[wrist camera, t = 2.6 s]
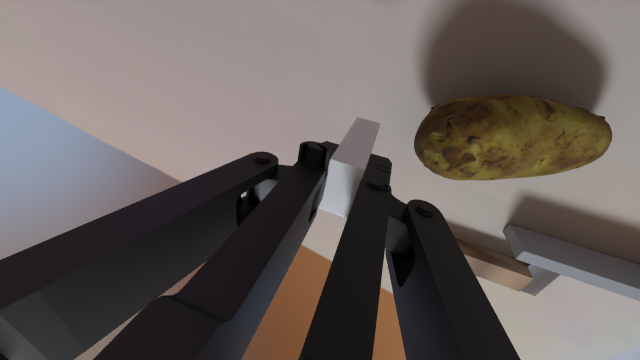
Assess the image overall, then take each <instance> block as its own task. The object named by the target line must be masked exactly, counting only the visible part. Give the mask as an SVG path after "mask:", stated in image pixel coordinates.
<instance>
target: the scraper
mask: <svg viewBox="0 0 640 360" xmlns="http://www.w3.org/2000/svg"><path fill="white" fill-rule="evenodd" d="M456 241H457V243H458V245H459V246H460V248H461V250H462V252H463V254H464V256H465V258H466V259H467V261H468V263H469V265H470V267H471V269H472V271H473V272H474V274H475V276H478V277H481V278H484V279H487V280H489V281H492V282H495V283H498V284H500V285H503V286H506V287H509V288H512V289H514V290H517V291H523V292H526V293H529V294H531V295H534V296H535V295H537V294H538V293H539V292H540V291H541V290H542V289H544V288H545V287H546V286H547V285H548V284H550V283H551V282H552V281H553V280H554V279H556V278H557V277H558V276H559V275H560V274H558V273H556V272H553V271H550V270H547V269H544V268H541V267H538V266H535V265H532V264H529V263H526V262H522V261H519V260H516V259H514V258H511V257H508V256H505V255H502V254H499V253H496V252H493V251H490V250H487V249H484V248H481V247H478V246H475V245H472V244H469V243H466V242H463V241H461V240H458V239H456Z"/></svg>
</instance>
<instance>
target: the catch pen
mask: <svg viewBox="0 0 640 360" xmlns="http://www.w3.org/2000/svg"><path fill="white" fill-rule="evenodd" d="M503 233H504V235H505V237H506V239H507V242H508V244H509V246H510V248H511V250H512V252H513V255H514V257H515V259H517V260H520V261H523V262H526V263H529V264H532V265H535V266H538V267H541V268H544V269H547V270H550V271H553V272H556V273H558V274H561V275H564V276H567V277H570V278H573V279H576V280H579V281H582V282H585V283H588V284H591V285H594V286H597V287H600V288H603V289H606V290H609V291H612V292H615V293H618V294H621V295H624V296H627V297H630V298H633V299H636V300H638V301H640V265H638V264H635V263H632V262H629V261H626V260H623V259H619V258H616V257H613V256H610V255H607V254H604V253H600V252H597V251H594V250H591V249H588V248H585V247H581V246H578V245H575V244H572V243H569V242H566V241H562V240H559V239H556V238H553V237H550V236H547V235H543V234H540V233H537V232H534V231H531V230H528V229H524V228H521V227H518V226H515V225H512V224H509V225H508V226H507V227H506V228H505V230H504V231H503Z"/></svg>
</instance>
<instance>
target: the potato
mask: <svg viewBox="0 0 640 360" xmlns="http://www.w3.org/2000/svg"><path fill="white" fill-rule="evenodd" d="M611 141H612V131H611V128H610V126H609V124H608V123H607V122H606V121H605V117H603V116H598V115H595V114H593V113H590V112H589V111H587V110H585V109H582V108H578V107H570V106H567V105H565V104H561V103H559V102H555V101H553V100H546V99H541V98H535V97H532V96H522V95H514V94H495V95H489V96H475V97H463V98H456V99H452V100H449V101H445V102H443V103H441V104H439V105H437V106H435V107H432V108H431V111H430V112H429V114H428V115H427V116H426V117H425V119H424V120H423V121H422V123H421V124H420V126H419V128H418V131H417V133H416V136H415V140H414V148H415V152H416V155H417V156H418V158H419V159H420V161H421V162H422V163H423V164H424V166H425V167H427V168H429V169H430V170H431V171H432V172H434V173H435V174H438V175H440V176H442V177H445V178H448V179H453V180H498V179H508V178H524V177H534V176H543V175H550V174H556V173H560V172H564V171H568V170H572V169H575V168H579V167H581V166H584V165H586V164H589V163H591V162H593V161H595V160H596V159H598V158H599V157H601V156H602V155H603V154H604V153H605V152H606V150H607V149H608V147H609V145H610V143H611Z"/></svg>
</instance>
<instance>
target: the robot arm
mask: <svg viewBox="0 0 640 360" xmlns="http://www.w3.org/2000/svg"><path fill="white" fill-rule="evenodd" d="M379 127H380V123H377V122H373V121H369V120H366V119H362V118H358V117H357V119H356V120H355V122H354V124H353V125H352V127H351V128H350V130H349V131H348V133H347V134H346V136H345V137H344V139H343V140H342V142H341V143H340V145H338V144H335V143H331V142H328V141H326V142H323V143H318V142H312V141H307V142H303V143H301V144H300V148H299V155H298V161H297V162H296V163H295V164H294V166H286V165H278V158H277V157H276V156H275V155H273V154H271V153H268V152H255V153H251V154H249V155H247V156H244V157H242V158H240V159H237V160H235V161H232V162H230V163H228V164H225V165H223V166H221V167H218V168H216V169H214V170H211V171H209V172H207V173H204V174H202V175H200V176H197V177H195V178H192V179H190V180H188V181H185V182H183V183H181V184H178V185H176V186H174V187H171V188H169V189H167V190H164V191H162V192H160V193H157V194H155V195H153V196H150V197H148V198H145V199H143V200H141V201H138V202H136V203H134V204H131V205H129V206H127V207H124V208H122V209H119V210H117V211H115V212H113V213H110V214H108V215H105V216H103V217H101V218H98V219H96V220H94V221H92V222H89V223H86V224H84V225H82V226H79V227H77V228H75V229H73V230H70V231H68V232H65V233H63V234H61V235H58V236H56V237H54V238H51V239H49V240H46V241H44V242H42V243H39V244H37V245H35V246H33V247H30V248H28V249H25V250H23V251H20V252H18V253H16V254H14V255H11V256H9V257H6V258H4V259H2V260H0V360H73V359H75V358H76V357H78V356H79V355H81V354H82V353H83V352H85V351H86V350H88V349H89V348H90V347H92V346H93V345H94V344H96V343H97V342H98V341H100V340H101V339H102V338H104V337H105V336H107V335H108V334H109V333H111V332H112V331H113V330H115V329H116V328H117V327H118V326H120V325H121V324H123V323H124V322H125V321H126V320H128V319H129V318H131V317H132V316H133V315H135V314H136V313H137V312H139V311H140V310H141V309H142V310H141V311H140V312H139V313H138V315H137V316H135V317H134V319H132V320H131V321H130V323H129V324H128V325H127V326H126V327H125V328H124V329H123V330H122V331H121V332H120V333H119V334H118V335H117V336H116V337H115V338H114V339H113V340H112V341H111V342H110V343H109V344H108V345H107V346H106V347H105V348H104V349H103V350H102V351H101V352H100V353H99V354H98V355H97V356H96V357H95V358H94V359H93V360H241V359H242V357H243V355H244V353H245V351H246V349H247V347H248V345H249V343H250V341H251V340H252V337H253V335H254V333H255V332H256V330H257V328H258V326H259V324H260V322H261V320H262V318H263V316H264V314H265V313H266V311H267V309H268V307H269V305H270V303H271V301H272V299H273V297H274V295H275V293H276V291H277V290H278V288H279V286H280V284H281V282H282V280H283V278H284V276H285V274H286V272H287V270H288V268H289V266H290V265H291V263H292V261H293V259H294V257H295V255H296V253H297V251H298V249H299V247H300V245H301V243H302V241H303V240H304V238H305V236H306V234H307V232H308V230H309V228H310V226H311V224H312V222H313V220H314V218H315V216H316V213H317V209H318V206H319V204H320V207H319V209H321V210H324V211H327V212H330V213H333V214H336V215H338V216H341V217H344V218H347V221H346V224H345V227H344V230H343V233H342V235H341V238H340V241H339V244H338V247H337V250H336V253H335V256H334V259H333V262H332V264H331V267H330V270H329V273H328V276H327V279H326V282H325V285H324V288H323V291H322V293H321V296H320V299H319V302H318V305H317V308H316V311H315V314H314V317H313V320H312V322H311V325H310V328H309V332H308V334H307V337H306V340H305V343H304V346H303V348H302V351H301V354H300V356H299V359H298V360H372V355H373V345H374V337H375V329H376V320H377V312H378V311H377V310H378V303H379V294H380V286H381V277H382V268H383V260H384V251H385V248H386V259H387V264H388V269H389V274H390V279H391V284H392V289H393V294H394V299H395V304H396V309H397V314H398V319H399V325H400V330H401V335H402V339H403V345H404V350H405V355H406V360H520V358H519V356H518V354H517V352H516V350H515V349H514V347H513V345H512V343H511V341H510V339H509V337H508V336H507V334H506V332H505V330H504V328H503V326H502V324H501V323H500V321H499V319H498V317H497V315H496V313H495V311H494V310H493V308H492V306H491V304H490V302H489V300H488V298H487V297H486V295H485V293H484V291H483V289H482V287H481V285H480V284H479V282H478V280H477V278H476V276H475V274H474V272H473V271H472V269H471V267H470V265H469V263H468V261H467V259H466V258H465V256H464V254H463V252H462V250H461V248H460V246H459V245H458V243H457V241H456V239H455V237H454V235H453V233H452V232H451V230H450V228H449V226H448V224H447V222H446V220H445V219H444V217H443V215H442V213H441V212H440V211H439V209H437V208H436V207H435V206H434V205H432V204H431V203H429V202H426V201H422V200H411V201H409V202H408V204H405V203H403V202H401V201H400V200H398V199H396V198H395V197H394V196H393V195H392V194H391V187H390V185H389V184H390V176H391V168H392V163H391V162H390V160H389V159H388V158H385V157H381V156H378V155H374V154H371V151H372V148H373V145H374V142H375V139H376V136H377V133H378V130H379ZM244 192H246V196H244V197H242V198H241V194H243V193H244ZM320 202H321V203H320ZM207 260H208V261H207ZM206 261H207V262H206ZM204 262H206V263H205V264H204V265H203V266H202V267H201V268H200V269H199V271H198V272H197V273H196V274H195V275H194V276H193V277H192V278H191V279H190V280H189V282H188V283H187V284H186V285H185V286H184V287H183V288H182V289H181V290H180V291H179V292H178V293H176V294H174V295H171V296H170V295H169V296H161V297H159V296H160V295H162V294H163V293H164V292H166V291H167V290H168V289H169V288H171V287H172V286H173V285H175V284H176V283H177V282H179V281H180V280H182V279H183V278H184V277H186V276H187V275H188V274H190V273H191V272H192V271H194V270H195V269H196V268H198V267H199V266H200V265H202V264H203V263H204ZM158 297H159V298H158ZM156 298H157V299H156ZM145 306H146V307H145ZM144 307H145V308H144ZM143 308H144V309H143Z"/></svg>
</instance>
